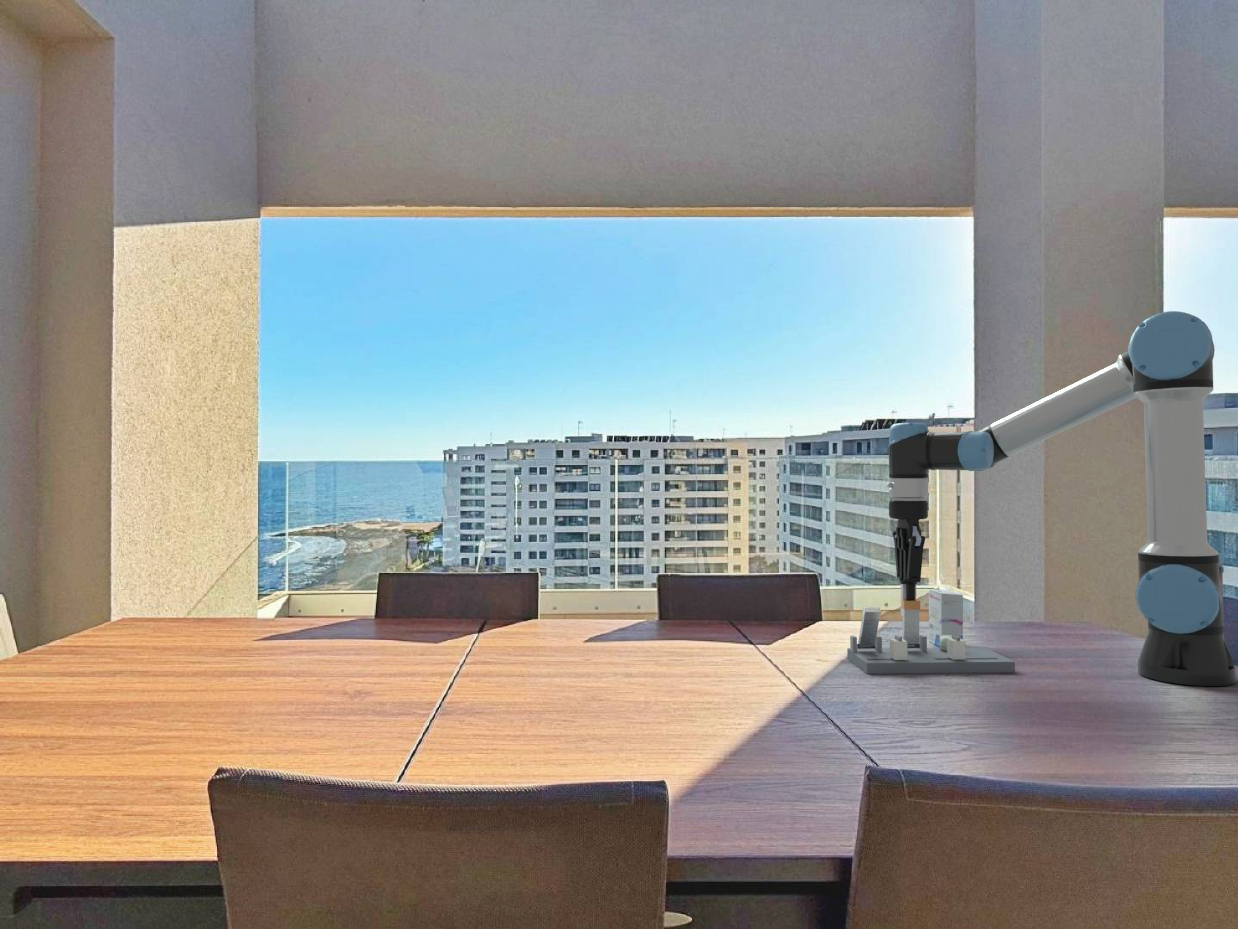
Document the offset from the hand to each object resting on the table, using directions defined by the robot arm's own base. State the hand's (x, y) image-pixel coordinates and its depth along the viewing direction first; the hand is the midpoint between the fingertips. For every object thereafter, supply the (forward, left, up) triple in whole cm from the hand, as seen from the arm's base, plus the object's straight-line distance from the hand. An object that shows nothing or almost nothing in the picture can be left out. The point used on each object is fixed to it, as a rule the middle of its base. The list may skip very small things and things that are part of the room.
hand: (908, 615), depth 177 cm
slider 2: (-6, +9, -7) cm, 13 cm away
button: (-8, +1, -7) cm, 11 cm away
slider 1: (+5, +9, -7) cm, 12 cm away
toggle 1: (+9, +1, -6) cm, 11 cm away
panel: (-2, +5, -9) cm, 10 cm away
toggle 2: (0, +1, -6) cm, 6 cm away
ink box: (-13, -15, -9) cm, 22 cm away
